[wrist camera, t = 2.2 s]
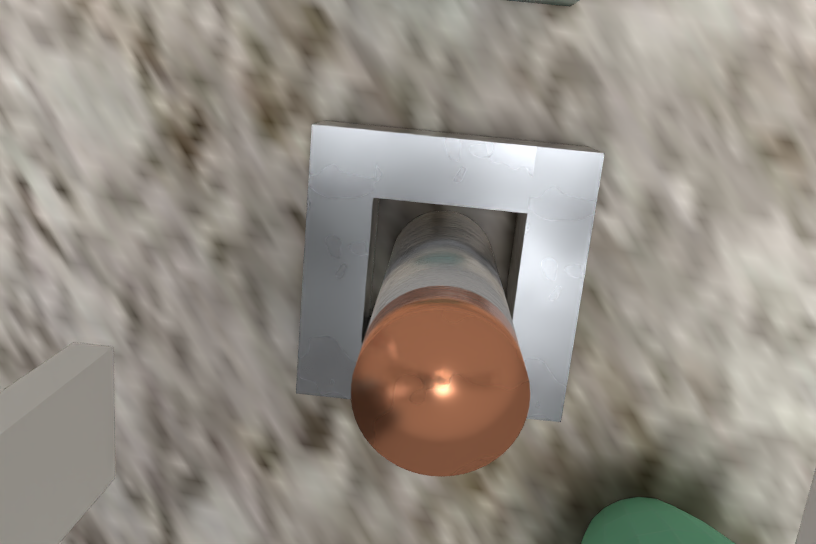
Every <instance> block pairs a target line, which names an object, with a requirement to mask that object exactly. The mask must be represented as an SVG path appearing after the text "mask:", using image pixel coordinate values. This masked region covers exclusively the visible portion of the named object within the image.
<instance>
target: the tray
mask: <svg viewBox="0 0 816 544" xmlns="http://www.w3.org/2000/svg"><path fill="white" fill-rule="evenodd" d="M509 1H520V2H530V3H541V4H551V5H562V6H571V5H573V4H574V3H576V2H578V1H579V0H509Z"/></svg>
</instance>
